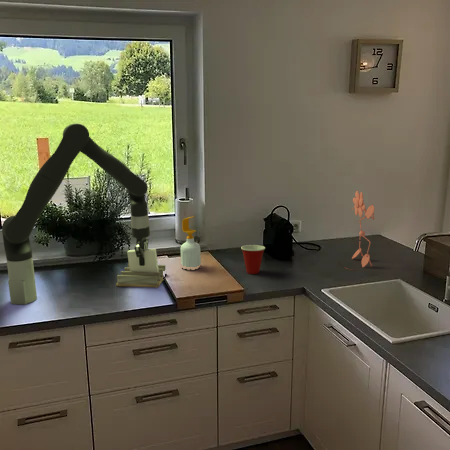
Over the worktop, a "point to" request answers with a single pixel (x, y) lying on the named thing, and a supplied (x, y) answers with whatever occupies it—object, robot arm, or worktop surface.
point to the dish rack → (140, 278)
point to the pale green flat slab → (149, 258)
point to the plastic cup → (253, 257)
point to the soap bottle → (190, 247)
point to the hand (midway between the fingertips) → (143, 264)
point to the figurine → (368, 213)
